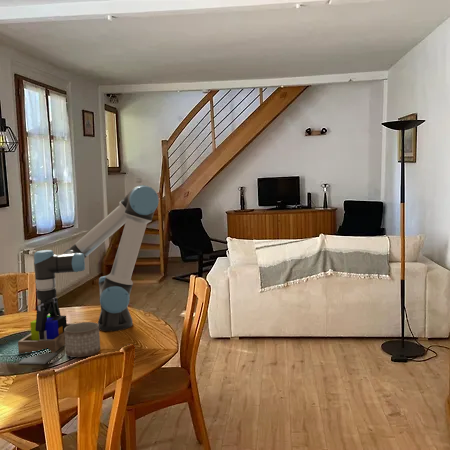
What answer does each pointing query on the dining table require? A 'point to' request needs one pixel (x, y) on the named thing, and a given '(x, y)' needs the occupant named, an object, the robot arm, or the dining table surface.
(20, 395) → the dining table surface
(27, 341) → the pocket frame
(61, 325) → the puzzle toy
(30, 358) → the mat
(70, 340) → the planter
